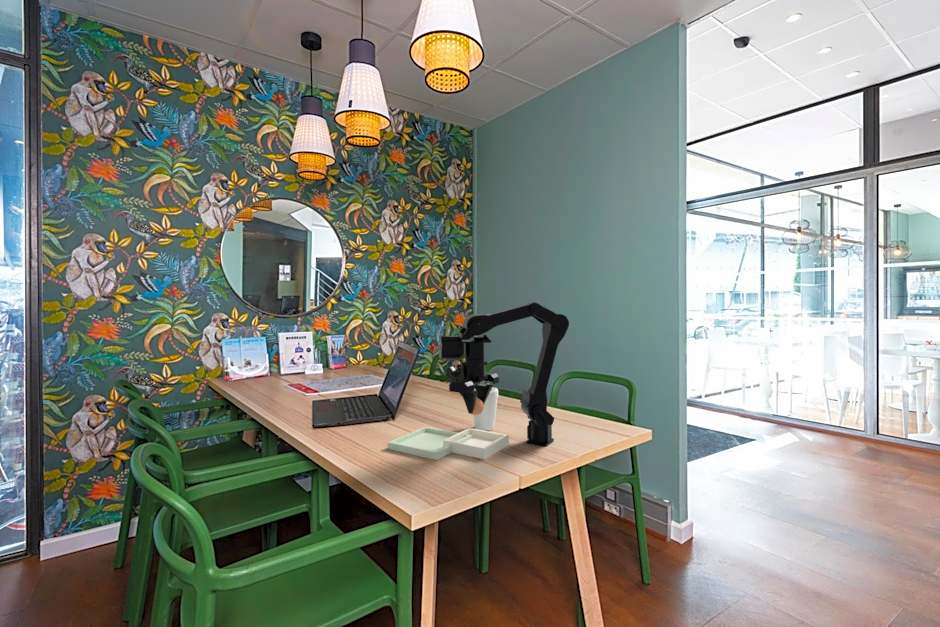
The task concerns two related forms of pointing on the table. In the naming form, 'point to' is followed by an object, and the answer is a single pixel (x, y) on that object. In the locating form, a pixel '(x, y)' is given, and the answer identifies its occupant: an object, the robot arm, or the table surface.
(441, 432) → the tray
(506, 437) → the white square open box
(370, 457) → the table surface
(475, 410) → the ball
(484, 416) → the foam cup
